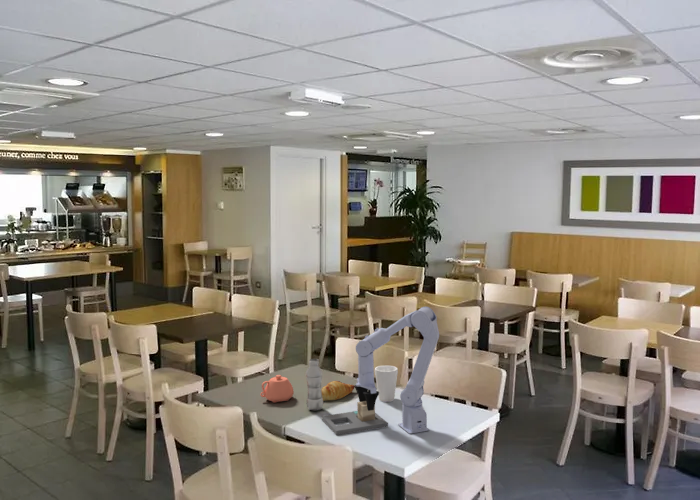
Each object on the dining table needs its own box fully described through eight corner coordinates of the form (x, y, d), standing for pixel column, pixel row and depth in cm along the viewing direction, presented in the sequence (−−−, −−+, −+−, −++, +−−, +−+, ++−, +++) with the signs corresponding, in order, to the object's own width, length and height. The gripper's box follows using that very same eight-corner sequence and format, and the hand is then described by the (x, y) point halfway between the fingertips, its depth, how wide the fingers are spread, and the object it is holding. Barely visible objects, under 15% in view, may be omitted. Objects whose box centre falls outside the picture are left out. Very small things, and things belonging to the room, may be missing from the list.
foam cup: (398, 395, 256) (397, 365, 254) (397, 403, 246) (397, 371, 245) (375, 395, 256) (375, 365, 255) (374, 402, 247) (374, 371, 246)
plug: (375, 422, 225) (374, 404, 225) (362, 424, 224) (362, 406, 223) (369, 418, 230) (369, 400, 229) (357, 420, 228) (357, 402, 228)
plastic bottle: (321, 412, 237) (320, 362, 235) (304, 411, 238) (303, 361, 236) (325, 407, 243) (324, 358, 241) (309, 406, 244) (307, 357, 243)
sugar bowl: (297, 401, 250) (296, 377, 250) (264, 406, 245) (263, 381, 244) (289, 393, 262) (288, 369, 261) (257, 397, 257) (256, 373, 256)
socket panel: (387, 426, 221) (387, 422, 221) (336, 435, 214) (336, 430, 214) (370, 412, 236) (370, 408, 236) (322, 419, 229) (321, 415, 229)
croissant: (316, 412, 248) (321, 397, 244) (304, 395, 255) (308, 381, 251) (357, 400, 260) (362, 386, 257) (345, 384, 267) (349, 370, 263)
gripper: (349, 367, 231) (349, 402, 232) (363, 377, 217) (364, 414, 218) (366, 365, 233) (367, 399, 234) (381, 375, 219) (382, 411, 221)
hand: (366, 406), depth 226 cm, fingers open, 7 cm apart
